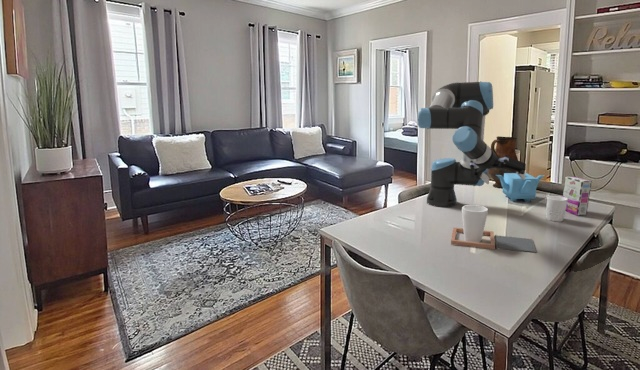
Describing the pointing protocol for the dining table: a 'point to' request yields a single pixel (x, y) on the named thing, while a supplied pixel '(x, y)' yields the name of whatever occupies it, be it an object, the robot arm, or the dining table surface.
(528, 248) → the rubber mat
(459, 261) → the dining table surface
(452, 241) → the terracotta frame
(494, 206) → the dining table surface
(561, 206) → the white cup
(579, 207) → the candy bar box
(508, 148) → the pitcher
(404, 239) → the dining table surface
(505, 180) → the teakettle
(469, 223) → the foam cup
